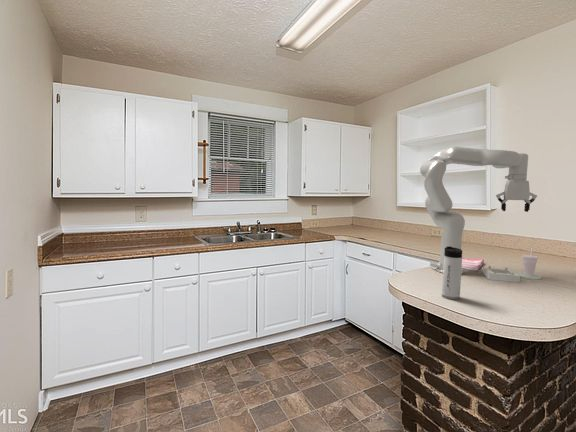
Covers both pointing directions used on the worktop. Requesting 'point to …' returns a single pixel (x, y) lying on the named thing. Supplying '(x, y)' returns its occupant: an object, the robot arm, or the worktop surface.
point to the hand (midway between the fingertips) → (514, 211)
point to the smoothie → (529, 264)
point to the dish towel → (472, 264)
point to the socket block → (500, 274)
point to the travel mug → (452, 273)
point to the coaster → (529, 276)
